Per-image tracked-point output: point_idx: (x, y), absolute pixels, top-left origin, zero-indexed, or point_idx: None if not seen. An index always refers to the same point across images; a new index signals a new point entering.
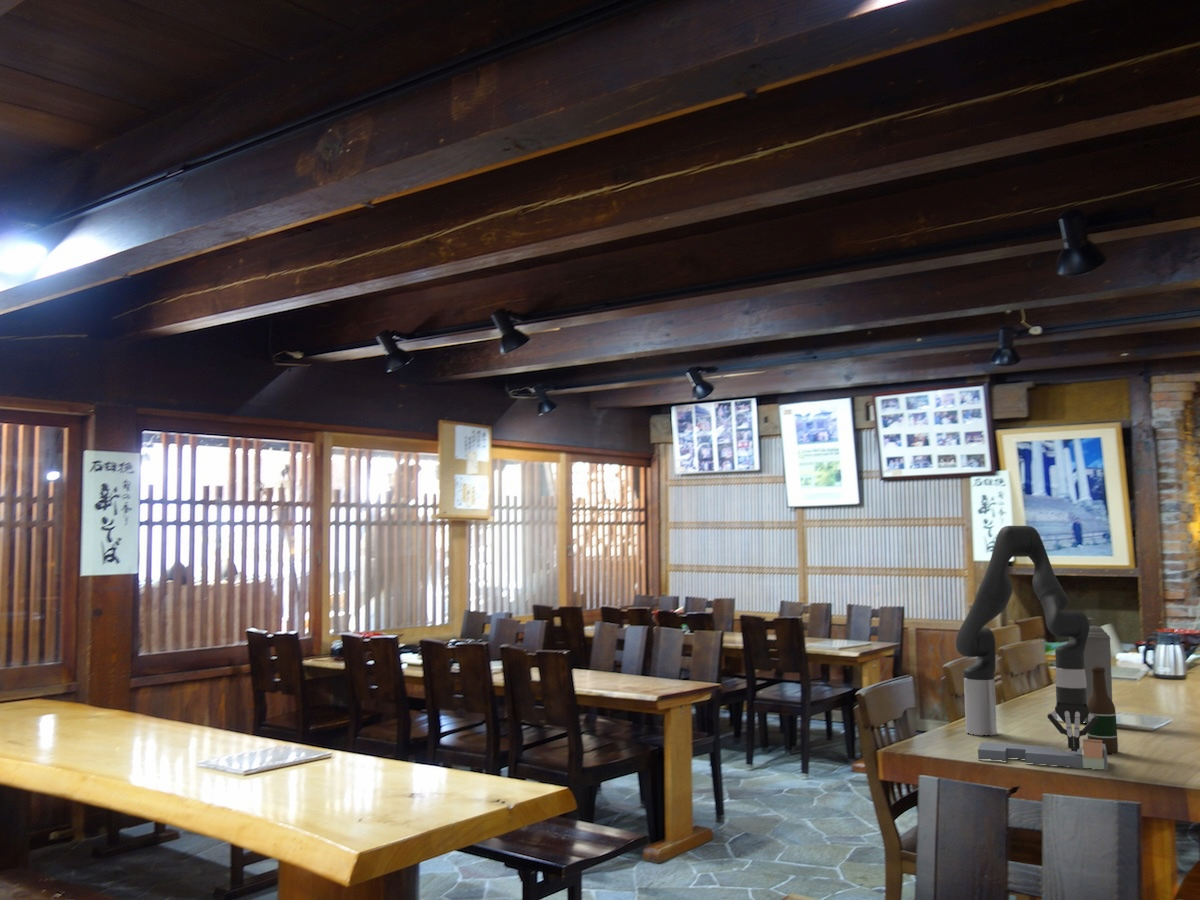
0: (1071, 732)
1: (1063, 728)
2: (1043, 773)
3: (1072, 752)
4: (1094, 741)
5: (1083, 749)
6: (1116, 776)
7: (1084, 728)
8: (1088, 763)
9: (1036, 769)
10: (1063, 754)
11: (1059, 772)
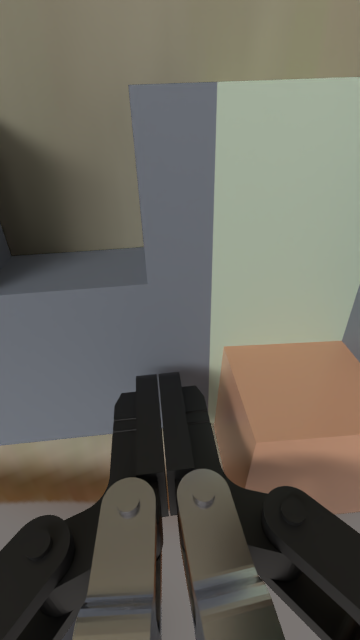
0: (156, 574)
1: (54, 591)
2: (58, 501)
3: (139, 324)
4: (325, 491)
5: (224, 468)
6: None
7: (305, 614)
8: None
9: (9, 465)
10: (94, 410)
11: (107, 469)
